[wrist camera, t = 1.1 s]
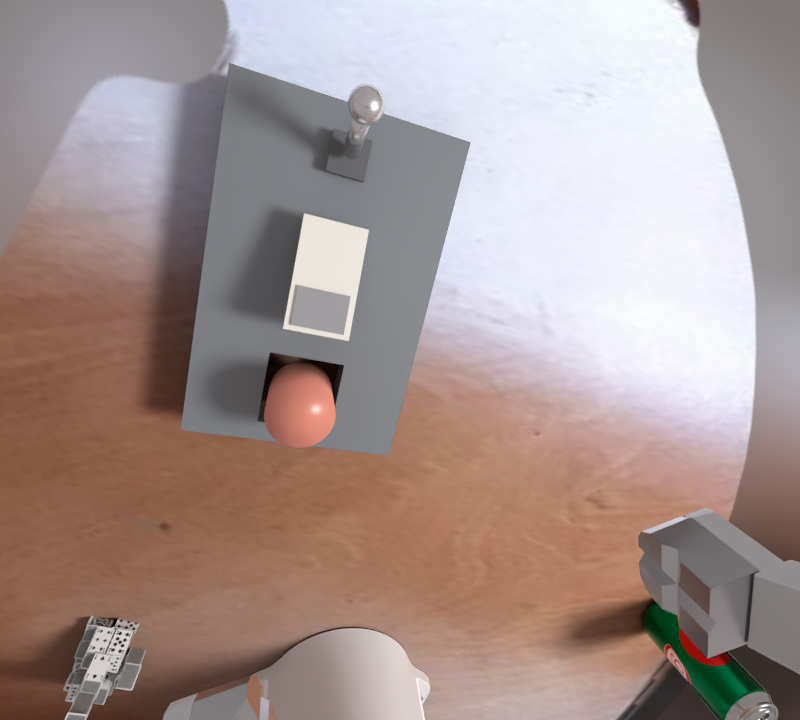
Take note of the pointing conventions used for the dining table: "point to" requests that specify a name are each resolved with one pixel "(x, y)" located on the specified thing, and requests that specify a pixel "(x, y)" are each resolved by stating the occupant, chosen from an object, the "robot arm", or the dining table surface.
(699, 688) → the soda can
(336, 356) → the panel
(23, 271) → the dining table surface
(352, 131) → the toggle lever
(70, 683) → the house of cards
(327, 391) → the push button
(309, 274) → the block
